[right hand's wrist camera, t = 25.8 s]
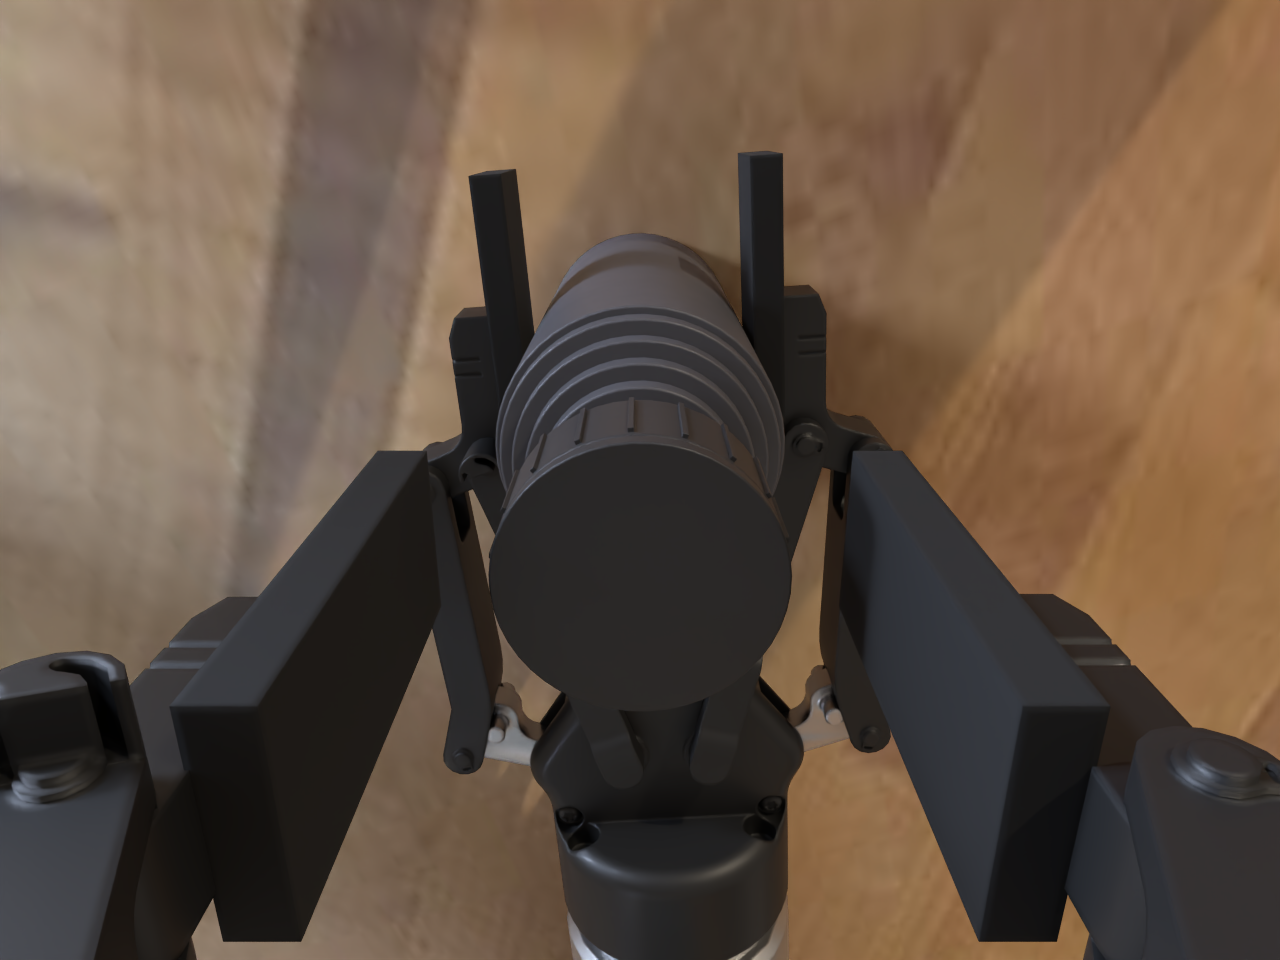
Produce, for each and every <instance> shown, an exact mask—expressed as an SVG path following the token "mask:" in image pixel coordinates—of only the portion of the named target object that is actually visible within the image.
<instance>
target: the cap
mask: <svg viewBox="0 0 1280 960" xmlns="http://www.w3.org/2000/svg"><path fill="white" fill-rule="evenodd" d="M771 497H772V494H771V492H770V489H769V486H768V483H767V481H766V478H765V475H764V472H763V470H762V467H761V464H760V461H759V459H758V458H757V456H756V457H754V458H753V457H752V455H751V454H750V453H749V451H748V450H747V449H746V448H745V446H744V445H743V444H742V443H741V442H740V441H739V440H738V439H737V438H736V437H735V436H734V435H733V434H732V433H731V432H729V430H728V426H727V425H726V424H725V423H723V424H722V425H720V424H719V423H717V422H716V421H714V420H712V419H710V418H709V417H707V416H705V415H703V414H701V413H699V412H696V411H694V410H691V409H689V408H687V407H684V403H680V402H679V403H678V405H676V404H672V403H668V402H660V401H653V400H634V397H629V400H628V401H620V402H613V403H609V404H605V405H601V406H597V407H594V408H592V409H589V410H586V408H583V409H581V410H580V413H579V414H577V415H575V416H574V417H572V418H570V419H568V420H566V421H565V422H563V423H562V424H560V425H559V426H558V427H556V428H555V429H554V430H552V431H551V432H550V433H549V434H548V435H546V434H545V433H543V434H542V435H541V437H540V440H539V443H538V444H537V446H536V447H535V448H534V449H533V451H532V452H531V453H530V455H529V456H528V457H527V459H526V460H525V462H524V464H523V466H522V467H521V469H520V471H518V470H515V472H514V475H513V478H512V480H511V483H510V486H509V489H508V491H507V494H506V497H505V499H504V502H503V505H502V508H501V510H500V512H502V513H503V516H502V519H501V522H500V524H499V527H498V530H497V533H496V536H495V538H494V541H493V544H492V547H491V550H490V552H489V558H490V564H489V590H490V596H491V601H492V606H493V610H494V613H495V616H496V618H497V621H498V624H499V626H500V628H501V630H502V632H503V634H504V636H505V638H506V639H507V641H508V643H509V644H510V646H511V647H512V648H513V650H514V651H515V653H516V654H517V655H518V657H519V658H520V659H521V660H522V661H523V662H524V663H525V664H526V665H527V666H528V667H529V668H530V670H532V671H533V672H534V673H535V674H536V675H538V676H539V677H540V678H541V679H543V680H544V681H545V682H547V683H548V684H550V685H551V686H553V687H554V688H556V689H558V690H559V691H561V692H563V693H565V694H567V695H569V696H571V697H573V698H575V699H578V700H581V701H584V702H587V703H589V704H592V705H596V706H600V707H605V708H609V709H615V710H624V711H656V710H666V709H671V708H676V707H680V706H685V705H688V704H691V703H694V702H697V701H700V700H703V699H705V698H707V697H709V696H711V695H713V694H715V693H718V692H720V691H721V690H723V689H724V688H726V687H728V686H729V685H731V684H732V683H734V682H735V681H737V680H738V679H739V678H740V677H742V676H743V675H744V674H745V673H746V672H748V671H749V670H750V669H751V668H752V667H753V666H754V665H755V664H756V663H757V662H758V661H759V659H760V658H761V657H762V656H763V655H764V653H765V652H766V650H767V649H768V648H769V646H770V645H771V644H772V642H773V640H774V638H775V637H776V635H777V633H778V631H779V629H780V627H781V625H782V622H783V620H784V617H785V614H786V612H787V608H788V603H789V599H790V594H791V582H792V570H791V558H790V553H789V549H788V544H787V543H788V542H790V540H789V536H788V533H787V530H786V528H785V525H784V522H783V520H782V517H781V514H780V511H779V509H778V506H777V503H776V500H775V498H774V497H773V498H771Z"/></svg>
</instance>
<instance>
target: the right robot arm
mask: <svg viewBox="0 0 1280 960" xmlns="http://www.w3.org/2000/svg"><path fill="white" fill-rule="evenodd" d="M440 608H441V598H440V588H439V577H438V566H437V555H436V544H435V534H434V523H433V512H432V501H431V490H430V479H429V469H428V458H427V451H377V452H376V454H375V455H374V456H373V457H372V459H371V460H370V461H369V462H368V463H367V465H366V466H365V467H364V468H363V470H362V471H361V472H360V473H359V475H358V476H357V477H356V478H355V479H354V481H353V482H352V483H351V484H350V486H349V487H348V488H347V489H346V490H345V492H344V493H343V494H342V495H341V497H340V498H339V499H338V500H337V501H336V503H335V504H334V505H333V506H332V508H331V509H330V510H329V511H328V512H327V514H326V515H325V516H324V517H323V519H322V520H321V521H320V522H319V523H318V525H317V526H316V527H315V528H314V530H313V531H312V532H311V533H310V535H309V536H308V537H307V538H306V539H305V541H304V542H303V543H302V544H301V546H300V547H299V548H298V549H297V550H296V552H295V553H294V554H293V555H292V557H291V558H290V559H289V560H288V561H287V563H286V564H285V565H284V566H283V568H282V569H281V570H280V571H279V572H278V574H277V575H276V576H275V577H274V579H273V580H272V581H271V582H270V583H269V585H268V586H267V587H266V588H265V590H264V591H263V592H262V593H261V595H260V596H259V597H227V598H225V599H224V600H222V601H220V602H218V603H217V604H215V605H213V606H212V607H210V608H208V609H207V610H205V611H203V612H201V613H200V614H198V615H196V616H195V617H193V618H191V620H190V621H189V622H188V623H187V624H186V625H185V626H184V627H183V628H182V629H181V630H180V632H179V633H178V634H177V635H176V636H175V637H174V638H173V639H172V640H171V641H170V642H169V648H164V649H163V650H162V651H161V652H160V653H159V654H158V656H157V657H156V658H155V659H154V660H153V661H152V662H151V663H150V669H145V670H144V671H143V672H142V673H141V674H140V675H139V676H138V677H137V678H136V679H135V681H134V682H133V683H132V684H131V685H130V686H129V682H128V677H127V673H126V669H125V665H124V664H123V663H122V662H120V661H119V660H117V659H116V658H114V657H113V656H112V655H109V654H103V653H97V652H91V651H79V652H64V653H54V654H50V655H46V656H42V657H37V658H33V659H29V660H25V661H21V662H19V663H16V664H14V665H11V666H9V667H6V668H4V669H1V670H0V960H197V959H196V954H195V949H194V945H193V941H192V937H191V936H192V935H193V933H194V931H195V929H196V927H197V926H198V924H199V922H200V920H201V918H202V917H203V915H204V913H205V911H206V909H207V908H208V906H209V904H210V902H211V900H212V899H214V904H215V908H216V912H217V917H218V921H219V926H220V930H221V934H222V939H223V942H301V941H302V938H303V936H304V934H305V931H306V929H307V927H308V924H309V922H310V919H311V917H312V915H313V912H314V910H315V907H316V905H317V903H318V900H319V898H320V895H321V893H322V891H323V888H324V886H325V883H326V881H327V879H328V876H329V874H330V871H331V869H332V867H333V864H334V862H335V859H336V857H337V855H338V852H339V850H340V847H341V845H342V843H343V840H344V838H345V835H346V833H347V831H348V828H349V826H350V823H351V821H352V819H353V816H354V814H355V812H356V809H357V807H358V804H359V802H360V800H361V797H362V795H363V792H364V790H365V788H366V785H367V783H368V780H369V778H370V776H371V773H372V771H373V768H374V766H375V764H376V761H377V759H378V756H379V754H380V752H381V749H382V747H383V744H384V742H385V740H386V737H387V735H388V732H389V730H390V728H391V725H392V723H393V720H394V718H395V716H396V713H397V711H398V708H399V706H400V704H401V701H402V699H403V696H404V694H405V692H406V689H407V687H408V685H409V682H410V680H411V677H412V675H413V673H414V670H415V668H416V665H417V663H418V661H419V658H420V656H421V653H422V651H423V649H424V646H425V644H426V641H427V639H428V637H429V634H430V632H431V629H432V627H433V625H434V622H435V620H436V617H437V615H438V613H439V610H440ZM839 608H840V610H841V613H842V615H843V617H844V620H845V622H846V625H847V627H848V629H849V632H850V634H851V637H852V639H853V641H854V644H855V646H856V649H857V651H858V653H859V656H860V658H861V661H862V663H863V665H864V668H865V670H866V673H867V675H868V677H869V680H870V682H871V685H872V687H873V689H874V692H875V694H876V696H877V699H878V701H879V704H880V706H881V708H882V711H883V713H884V716H885V718H886V720H887V723H888V725H889V728H890V730H891V732H892V735H893V737H894V740H895V742H896V744H897V747H898V749H899V752H900V754H901V756H902V759H903V761H904V764H905V766H906V768H907V771H908V773H909V776H910V778H911V780H912V783H913V785H914V788H915V790H916V792H917V795H918V797H919V800H920V802H921V804H922V807H923V809H924V812H925V814H926V816H927V819H928V821H929V823H930V826H931V828H932V831H933V833H934V835H935V838H936V840H937V843H938V845H939V847H940V850H941V852H942V855H943V857H944V859H945V862H946V864H947V867H948V869H949V871H950V874H951V876H952V879H953V881H954V883H955V886H956V888H957V891H958V893H959V895H960V898H961V900H962V903H963V905H964V907H965V910H966V912H967V915H968V917H969V919H970V922H971V924H972V927H973V929H974V931H975V934H976V936H977V938H978V941H979V942H1057V939H1058V934H1059V930H1060V926H1061V921H1062V917H1063V912H1064V908H1065V904H1066V899H1067V895H1068V896H1069V898H1070V899H1071V901H1072V903H1073V905H1074V906H1075V908H1076V910H1077V912H1078V914H1079V915H1080V917H1081V919H1082V921H1083V923H1084V924H1085V926H1086V928H1087V930H1088V932H1089V937H1088V941H1087V945H1086V949H1085V954H1084V958H1083V960H1280V761H1279V760H1278V759H1277V758H1275V757H1274V756H1272V755H1271V754H1270V753H1268V752H1267V751H1264V750H1262V749H1260V748H1258V747H1256V746H1254V745H1251V744H1249V743H1247V742H1245V741H1243V740H1241V739H1238V738H1236V737H1233V736H1229V735H1226V734H1222V733H1218V732H1215V731H1211V730H1207V729H1204V728H1193V727H1192V726H1191V725H1190V724H1189V723H1188V722H1187V721H1186V720H1185V719H1184V717H1183V716H1182V715H1181V714H1180V713H1179V712H1178V711H1177V710H1176V709H1175V708H1174V707H1173V706H1172V704H1171V703H1170V702H1169V701H1168V700H1167V699H1166V698H1165V697H1164V696H1163V695H1162V694H1161V693H1160V692H1159V690H1158V689H1157V688H1156V687H1155V686H1154V685H1153V684H1152V683H1151V682H1150V681H1149V680H1148V679H1147V677H1146V676H1145V675H1144V674H1143V673H1142V672H1141V671H1140V670H1139V669H1138V668H1137V667H1136V666H1135V665H1131V663H1130V659H1129V658H1128V657H1127V656H1126V655H1125V654H1124V653H1123V652H1122V650H1121V649H1120V648H1119V647H1118V646H1117V645H1112V642H1111V639H1110V637H1109V636H1108V635H1107V634H1106V633H1105V632H1104V631H1103V630H1102V629H1101V628H1100V627H1099V626H1098V624H1097V623H1096V622H1095V621H1094V620H1093V619H1092V618H1091V617H1090V616H1089V615H1088V614H1086V613H1084V612H1083V611H1081V610H1079V609H1077V608H1076V607H1074V606H1072V605H1071V604H1069V603H1067V602H1065V601H1064V600H1062V599H1060V598H1059V597H1057V596H1055V595H1053V594H1019V593H1018V592H1017V591H1016V590H1015V588H1014V587H1013V586H1012V585H1011V583H1010V582H1009V581H1008V580H1007V579H1006V577H1005V576H1004V575H1003V574H1002V572H1001V571H1000V570H999V569H998V568H997V566H996V565H995V564H994V563H993V561H992V560H991V559H990V558H989V557H988V555H987V554H986V553H985V552H984V550H983V549H982V548H981V547H980V546H979V544H978V543H977V542H976V541H975V539H974V538H973V537H972V536H971V535H970V533H969V532H968V531H967V530H966V528H965V527H964V526H963V525H962V523H961V522H960V521H959V520H958V519H957V517H956V516H955V515H954V514H953V512H952V511H951V510H950V509H949V508H948V506H947V505H946V504H945V503H944V501H943V500H942V499H941V498H940V497H939V495H938V494H937V493H936V492H935V490H934V489H933V488H932V487H931V486H930V484H929V483H928V482H927V481H926V479H925V478H924V477H923V476H922V475H921V473H920V472H919V471H918V470H917V468H916V467H915V466H914V465H913V463H912V462H911V461H910V460H909V459H908V457H907V456H906V455H905V454H904V452H903V451H853V458H852V469H851V479H850V490H849V501H848V512H847V523H846V534H845V544H844V555H843V566H842V577H841V588H840V598H839Z"/></svg>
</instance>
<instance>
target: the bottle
mask: <svg viewBox="0 0 1280 960" xmlns="http://www.w3.org/2000/svg"><path fill="white" fill-rule="evenodd" d="M629 397H634V400H653V401H660V402H668V403H672V404H676V405H678V403H679V402H680V403H684V407H687V408H689V409H691V410H694V411H696V412H699V413H701V414H703V415H705V416H707V417H709V418H710V419H712V420H714V421H716V422H717V423H719V424H720V425H722V424H723V423H725V424H726V425H727V426H728V430H729V432H731V433H732V434H733V435H734V436H735V437H736V438H737V439H738V440H739V441H740V442H741V443H742V444H743V445H744V446H745V448H746V449H747V450H748V451H749V453H750V454H751V455H752V457H753V458H754V457H756V456H757V458H758V459H759V461H760V464H761V467H762V470H763V472H764V475H765V478H766V481H767V483H768V486H769V489H770V492H771V494H772V496H773V494H774V492H775V490H776V487H777V484H778V481H779V478H780V474H781V470H782V465H783V459H784V446H785V434H784V424H783V417H782V413H781V409H780V405H779V401H778V399H777V396H776V394H775V391H774V389H773V386H772V384H771V382H770V380H769V378H768V376H767V374H766V372H765V370H764V368H763V367H762V365H761V363H760V361H759V359H758V357H757V355H756V353H755V351H754V349H753V347H752V345H751V343H750V341H749V339H748V338H747V336H746V334H745V332H744V330H743V328H742V326H741V324H740V322H739V320H738V318H737V316H736V314H735V312H734V311H733V309H732V307H731V305H730V303H729V301H728V299H727V297H726V295H725V293H724V291H723V289H722V287H721V285H720V283H719V282H718V280H717V278H716V276H715V275H714V273H713V271H712V270H711V269H710V268H709V266H708V265H707V264H706V263H705V262H704V261H703V260H702V259H701V258H700V257H699V256H698V255H697V254H696V253H695V252H693V251H692V250H691V249H689V248H688V247H686V246H684V245H683V244H681V243H679V242H677V241H674V240H672V239H669V238H667V237H663V236H659V235H654V234H644V233H641V234H627V235H621V236H617V237H614V238H611V239H608V240H606V241H604V242H601V243H599V244H597V245H596V246H594V247H593V248H591V249H589V250H588V251H587V252H586V253H584V254H583V255H582V256H581V257H580V258H579V259H578V260H577V261H576V262H575V263H574V264H573V265H572V266H571V268H570V269H569V271H568V272H567V273H566V275H565V276H564V278H563V280H562V282H561V284H560V286H559V288H558V290H557V292H556V294H555V296H554V298H553V300H552V302H551V304H550V305H549V307H548V309H547V311H546V313H545V315H544V317H543V319H542V321H541V323H540V325H539V327H538V329H537V331H536V333H535V335H534V337H533V338H532V340H531V342H530V344H529V346H528V348H527V350H526V352H525V354H524V356H523V358H522V360H521V362H520V364H519V366H518V368H517V369H516V371H515V373H514V375H513V377H512V379H511V381H510V383H509V385H508V387H507V389H506V391H505V394H504V397H503V400H502V403H501V406H500V409H499V415H498V420H497V425H496V444H495V445H496V456H497V464H498V468H499V472H500V477H501V480H502V483H503V486H504V488H505V491H506V494H507V491H508V489H509V486H510V483H511V480H512V478H513V475H514V472H515V470H518V471H520V469H521V467H522V466H523V464H524V462H525V460H526V459H527V457H528V456H529V455H530V453H531V452H532V451H533V449H534V448H535V447H536V446H537V444H538V443H539V440H540V437H541V435H542V434H543V433H545V434H546V435H548V434H549V433H550V432H551V431H552V430H554V429H555V428H556V427H558V426H559V425H560V424H562V423H563V422H565V421H566V420H568V419H570V418H572V417H574V416H575V415H577V414H579V413H580V410H581V409H583V408H586V410H589V409H592V408H594V407H597V406H601V405H605V404H609V403H613V402H620V401H628V400H629ZM771 498H772V497H771Z"/></svg>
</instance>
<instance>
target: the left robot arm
mask: <svg viewBox="0 0 1280 960" xmlns="http://www.w3.org/2000/svg"><path fill="white" fill-rule="evenodd" d="M738 175H739V214H740V253H741V292H742V328H743V330H744V332H745V334H746V336H747V338H748V339H749V341H750V343H751V345H752V347H753V349H754V351H755V353H756V355H757V357H758V359H759V361H760V363H761V365H762V367H763V368H764V370H765V372H766V374H767V376H768V378H769V380H770V382H771V384H772V386H773V389H774V391H775V394H776V396H777V399H778V401H779V405H780V409H781V413H782V417H783V424H784V434H785V446H784V459H783V465H782V470H781V474H780V478H779V481H778V484H777V487H776V490H775V492H774V494H773V496H772V498H773V497H774V498H775V500H776V503H777V506H778V509H779V511H780V514H781V517H782V520H783V522H784V525H785V528H786V530H787V533H788V536H789V540H790V542H788V543H787V544H788V549H789V553H790V558H791V561H792V558H793V555H794V552H795V549H796V546H797V543H798V539H799V536H800V533H801V530H802V527H803V524H804V521H805V518H806V515H807V512H808V509H809V506H810V503H811V500H812V497H813V493H814V490H815V487H816V484H817V481H818V478H819V475H820V472H821V469H822V467H824V468H827V469H831V472H830V486H829V500H828V514H827V528H826V543H825V557H824V571H823V585H822V600H821V614H820V628H819V642H820V649H821V655H822V659H823V662H824V665H817V666H815V667H814V668H813V669H812V671H811V675H810V676H809V678H808V679H807V681H806V684H805V692H806V694H805V698H804V700H803V701H802V703H801V704H800V705H798V706H797V707H795V708H793V709H790V708H789V707H788V706H787V705H786V704H785V703H784V702H783V700H782V699H781V698H780V697H779V696H778V695H777V694H776V693H775V692H774V691H773V690H772V689H771V687H770V686H769V685H768V684H767V683H766V682H765V681H764V680H763V679H762V678H761V677H760V676H759V675H760V672H761V667H762V658H763V656H762V657H761V658H760V659H759V661H758V662H757V663H756V664H755V665H754V666H753V667H752V668H751V669H750V670H749V671H748V672H746V673H745V674H744V675H743V676H742V677H740V678H739V679H738V680H737V681H735V682H734V683H732V684H731V685H729V686H728V687H726V688H724V689H723V690H721V691H720V692H718V693H715V694H713V695H711V696H709V697H707V698H705V699H703V700H700V701H697V702H694V703H691V704H688V705H685V706H680V707H676V708H671V709H666V710H656V711H624V710H615V709H609V708H605V707H600V706H596V705H592V704H589V703H587V702H584V701H581V700H578V699H575V698H573V697H571V696H569V695H567V694H565V693H563V692H561V693H560V695H559V696H558V697H557V699H556V700H555V702H554V703H553V705H552V706H551V707H550V709H549V710H548V712H547V713H546V715H545V716H544V717H543V719H542V720H541V722H540V723H538V722H534V721H532V720H531V719H529V718H528V717H527V716H526V715H525V714H524V712H523V710H522V701H521V698H520V696H519V695H518V694H517V693H516V692H515V688H514V686H513V685H512V684H510V683H501V680H502V672H503V659H502V652H501V645H500V640H499V636H498V631H497V626H496V621H495V616H494V612H493V607H492V602H491V597H490V593H489V588H488V583H487V578H486V573H485V569H484V564H483V559H482V554H481V549H480V545H479V540H478V535H477V530H476V526H475V521H474V516H473V511H472V506H471V502H470V497H469V492H468V491H469V490H472V489H473V490H474V492H475V494H476V496H477V498H478V500H479V502H480V504H481V506H482V508H483V510H484V513H485V515H486V517H487V519H488V521H489V523H490V525H491V527H492V529H493V531H494V533H495V535H496V533H497V530H498V527H499V524H500V522H501V519H502V516H503V513H502V512H500V510H501V508H502V505H503V502H504V499H505V497H506V491H505V488H504V486H503V483H502V480H501V477H500V472H499V468H498V464H497V456H496V445H495V444H496V425H497V420H498V415H499V409H500V406H501V403H502V400H503V397H504V394H505V391H506V389H507V387H508V385H509V383H510V381H511V379H512V377H513V375H514V373H515V371H516V369H517V368H518V366H519V364H520V362H521V360H522V358H523V356H524V354H525V352H526V350H527V348H528V346H529V344H530V342H531V340H532V338H533V337H534V326H533V317H532V308H531V299H530V291H529V282H528V273H527V264H526V255H525V246H524V237H523V228H522V219H521V210H520V201H519V193H518V184H517V175H516V169H509V170H496V171H486V172H482V173H478V174H475V175H471V176H469V184H470V191H471V199H472V207H473V214H474V222H475V230H476V237H477V245H478V253H479V260H480V268H481V275H482V283H483V291H484V298H485V306H486V307H473V308H464V309H463V310H462V311H461V312H460V313H459V314H458V315H457V316H456V317H455V318H454V320H453V325H452V329H451V333H450V337H449V342H450V348H451V355H452V359H453V369H454V374H455V382H456V389H457V396H458V403H459V409H460V416H461V423H462V433H461V434H460V435H458V436H456V437H454V438H452V439H449V440H447V441H445V442H435V443H432V444H429V445H428V446H427V447H426V448H425V449H424V450H423V451H427V458H428V469H429V479H430V490H431V501H432V512H433V523H434V534H435V544H436V555H437V566H438V577H439V588H440V598H441V608H440V610H439V613H438V615H437V617H436V620H435V622H434V625H433V627H432V629H433V633H434V638H435V642H436V646H437V650H438V654H439V658H440V663H441V667H442V671H443V675H444V679H445V684H446V688H447V692H448V696H449V700H450V704H451V709H452V710H451V716H450V721H449V726H448V732H447V737H446V743H445V748H444V754H443V757H444V762H445V764H446V766H447V767H448V768H449V769H450V770H452V771H453V772H456V773H459V774H470V773H473V772H475V771H477V770H478V769H479V768H480V767H481V765H482V763H483V759H484V757H485V758H490V759H495V760H501V761H506V762H512V763H517V764H522V765H528V766H531V771H532V774H533V776H534V778H535V780H536V781H537V783H538V784H539V785H540V786H541V787H542V788H543V789H544V791H545V792H546V793H547V795H548V796H549V798H550V800H551V803H552V806H553V812H554V819H555V827H556V835H557V842H558V850H559V857H560V865H561V872H562V880H563V887H564V895H565V901H566V905H567V908H568V913H567V921H568V928H569V935H570V942H571V949H572V956H573V960H789V915H788V898H787V889H788V827H787V793H788V787H789V784H790V782H791V780H792V778H793V776H794V775H795V773H796V772H797V770H798V769H799V767H800V765H801V763H802V760H803V756H804V752H805V751H808V750H812V749H815V748H818V747H822V746H825V745H828V744H831V743H835V742H838V741H841V740H845V739H848V738H850V741H851V743H852V744H853V746H854V748H856V749H857V750H859V751H861V752H866V753H871V752H877V751H879V750H881V749H883V748H884V747H885V746H886V745H887V744H888V742H889V740H890V737H891V734H890V728H889V725H888V723H887V720H886V718H885V716H884V713H883V711H882V708H881V706H880V704H879V701H878V699H877V696H876V694H875V692H874V689H873V687H872V685H871V682H870V680H869V677H868V675H867V673H866V670H865V668H864V665H863V663H862V661H861V658H860V656H859V653H858V651H857V649H856V646H855V644H854V641H853V639H852V637H851V634H850V632H849V629H848V627H847V625H846V622H845V620H844V617H843V615H842V613H841V610H840V608H839V598H840V588H841V577H842V566H843V555H844V544H845V534H846V523H847V512H848V501H849V490H850V479H851V469H852V458H853V451H893V450H892V448H891V447H890V446H889V444H888V443H887V442H886V440H885V439H884V438H883V437H882V435H881V434H880V433H879V432H878V430H877V429H876V428H875V427H874V425H873V424H872V423H871V422H870V421H869V420H868V419H866V418H865V417H863V416H857V415H854V416H845V415H842V414H838V413H835V412H832V411H830V410H828V409H827V408H826V311H825V309H824V306H823V304H822V301H821V299H820V296H819V294H818V293H817V292H816V291H815V290H814V289H813V288H812V287H811V286H809V285H799V286H784V250H783V153H777V152H770V151H759V152H745V153H738Z"/></svg>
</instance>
